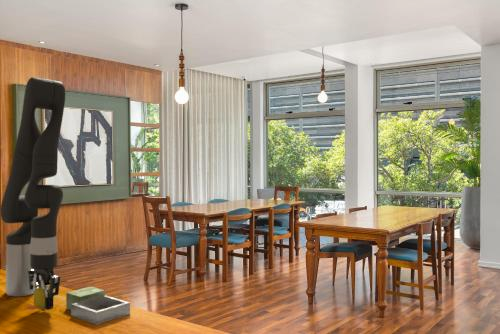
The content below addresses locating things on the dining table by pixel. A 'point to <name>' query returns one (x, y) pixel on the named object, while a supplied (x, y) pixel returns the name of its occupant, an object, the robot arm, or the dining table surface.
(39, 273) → the robot arm
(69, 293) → the square open box
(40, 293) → the lemon
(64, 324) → the dining table surface
